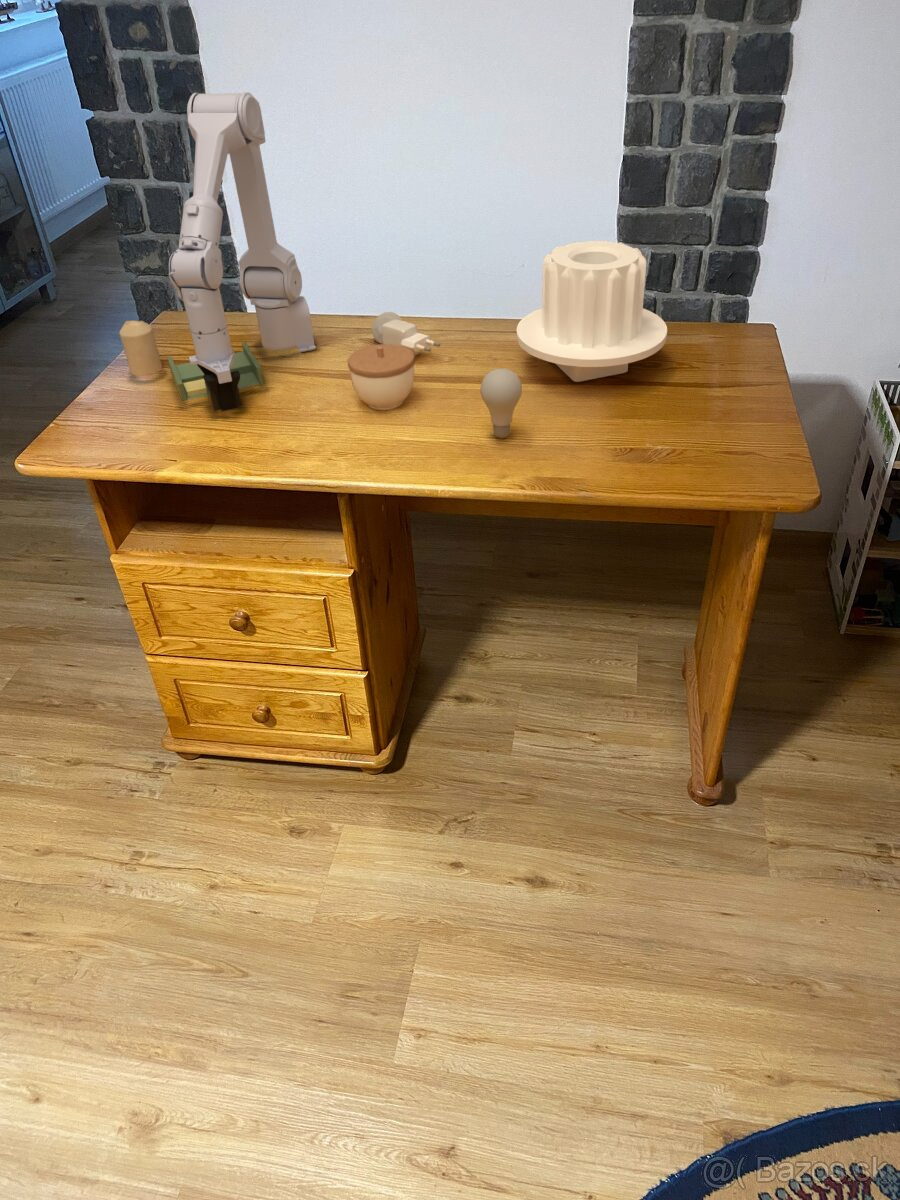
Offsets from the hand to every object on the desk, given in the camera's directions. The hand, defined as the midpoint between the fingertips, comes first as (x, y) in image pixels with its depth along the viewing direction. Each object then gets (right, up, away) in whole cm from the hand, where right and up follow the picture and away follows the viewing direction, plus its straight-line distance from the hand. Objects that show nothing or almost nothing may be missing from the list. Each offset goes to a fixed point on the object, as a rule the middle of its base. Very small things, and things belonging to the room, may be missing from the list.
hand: (226, 406), depth 151 cm
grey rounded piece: (+26, +17, +20) cm, 36 cm away
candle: (-17, +8, +12) cm, 23 cm away
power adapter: (+30, +11, +13) cm, 35 cm away
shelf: (-3, +5, +8) cm, 10 cm away
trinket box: (+26, +1, 0) cm, 26 cm away
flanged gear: (+61, +8, +6) cm, 62 cm away
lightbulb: (+45, -7, -12) cm, 47 cm away
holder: (0, 0, 0) cm, 0 cm away
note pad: (-6, +3, +4) cm, 8 cm away
